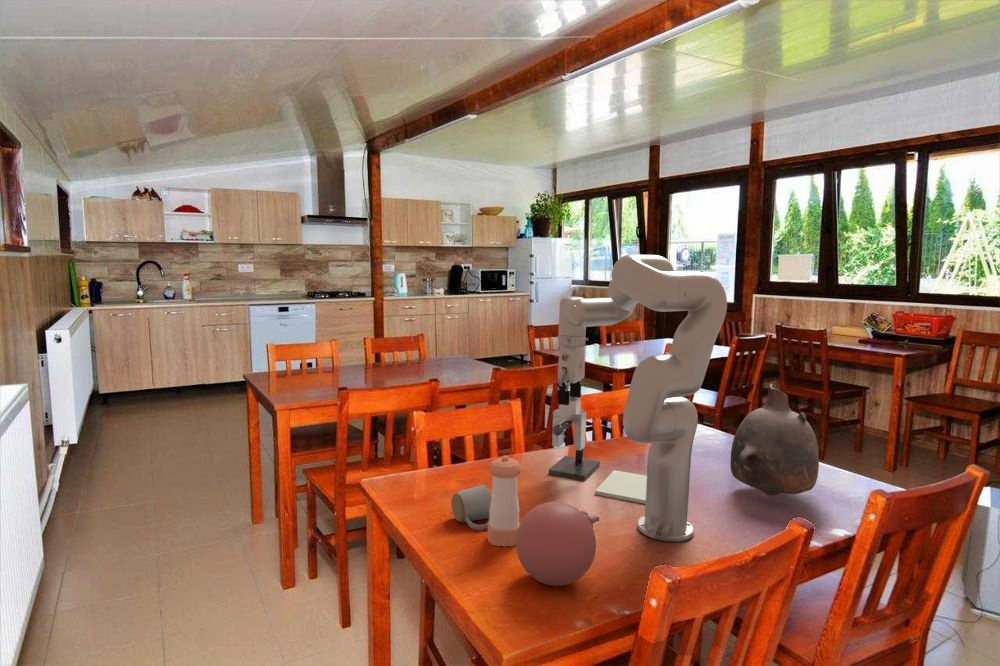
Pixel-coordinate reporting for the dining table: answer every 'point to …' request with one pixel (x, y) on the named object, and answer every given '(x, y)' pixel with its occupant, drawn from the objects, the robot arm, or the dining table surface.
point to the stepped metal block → (571, 414)
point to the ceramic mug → (472, 506)
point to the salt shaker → (504, 502)
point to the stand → (572, 460)
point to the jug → (775, 449)
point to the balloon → (556, 543)
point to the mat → (624, 486)
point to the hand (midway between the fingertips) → (569, 400)
